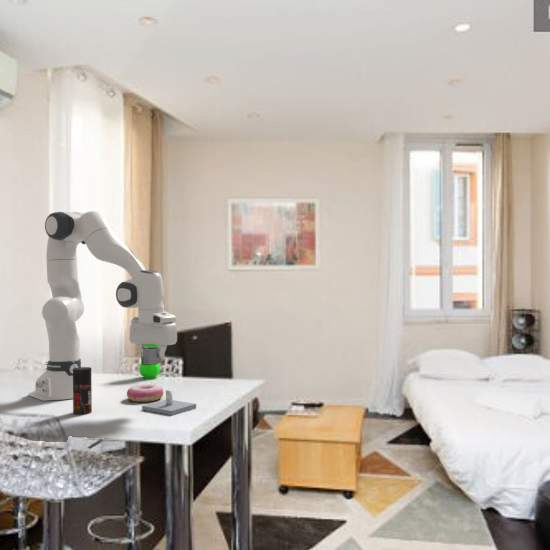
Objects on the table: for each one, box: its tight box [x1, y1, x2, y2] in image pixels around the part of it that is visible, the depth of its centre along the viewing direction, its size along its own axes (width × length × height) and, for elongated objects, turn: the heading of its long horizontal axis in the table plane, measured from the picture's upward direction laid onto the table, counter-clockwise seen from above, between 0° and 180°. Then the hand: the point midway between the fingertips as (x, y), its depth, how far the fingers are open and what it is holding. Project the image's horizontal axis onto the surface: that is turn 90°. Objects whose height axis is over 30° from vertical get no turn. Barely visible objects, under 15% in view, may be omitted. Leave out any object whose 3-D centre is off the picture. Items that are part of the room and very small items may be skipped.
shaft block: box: [141, 389, 197, 416], centre depth 190 cm, size 14×12×6 cm
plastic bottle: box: [138, 344, 161, 380], centre depth 252 cm, size 10×10×25 cm
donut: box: [126, 383, 164, 403], centre depth 206 cm, size 14×13×5 cm
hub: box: [143, 347, 164, 365], centre depth 189 cm, size 6×6×5 cm
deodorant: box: [72, 366, 93, 416], centre depth 186 cm, size 6×6×15 cm
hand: (153, 357), depth 189 cm, fingers closed on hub, 6 cm apart
